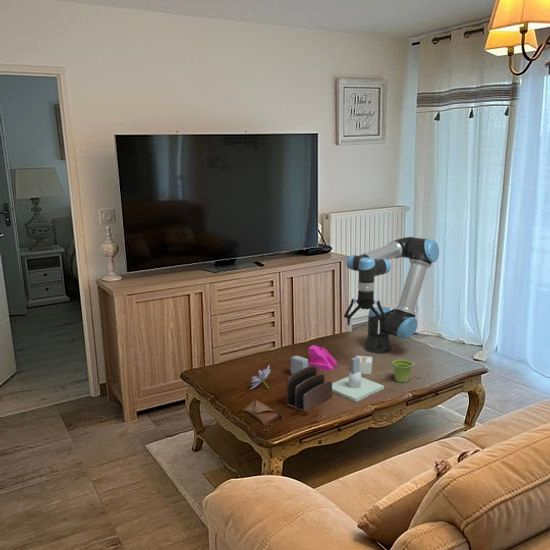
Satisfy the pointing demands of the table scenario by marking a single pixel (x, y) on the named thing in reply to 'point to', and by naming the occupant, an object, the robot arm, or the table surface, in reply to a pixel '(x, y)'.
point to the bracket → (321, 358)
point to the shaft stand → (355, 384)
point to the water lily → (261, 375)
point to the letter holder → (307, 389)
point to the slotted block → (365, 364)
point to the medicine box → (298, 364)
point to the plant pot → (402, 370)
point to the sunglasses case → (262, 412)
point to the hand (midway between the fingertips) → (364, 332)
